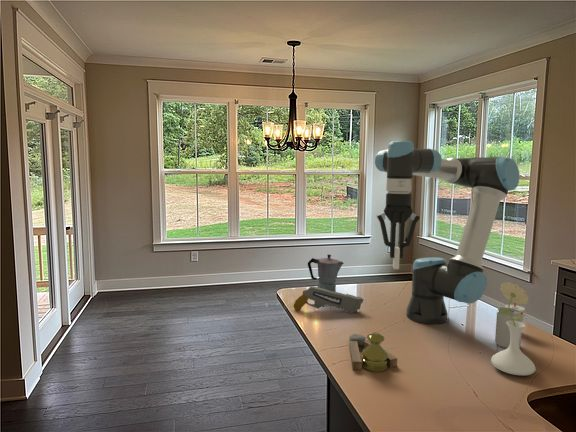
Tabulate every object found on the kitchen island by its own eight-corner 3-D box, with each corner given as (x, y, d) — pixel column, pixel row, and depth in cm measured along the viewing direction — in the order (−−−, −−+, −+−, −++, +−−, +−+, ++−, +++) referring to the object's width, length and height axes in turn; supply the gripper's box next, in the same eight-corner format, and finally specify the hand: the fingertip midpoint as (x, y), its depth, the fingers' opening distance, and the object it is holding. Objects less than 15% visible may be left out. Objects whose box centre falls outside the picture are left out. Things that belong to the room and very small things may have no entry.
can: (518, 342, 139) (520, 307, 138) (522, 352, 132) (525, 315, 131) (493, 339, 142) (495, 305, 140) (496, 348, 135) (498, 312, 133)
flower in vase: (545, 378, 116) (552, 290, 113) (507, 381, 114) (514, 292, 111) (512, 356, 129) (518, 277, 126) (478, 359, 127) (484, 279, 124)
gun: (349, 333, 167) (364, 300, 165) (291, 309, 167) (306, 276, 165) (348, 330, 170) (363, 297, 168) (292, 307, 170) (306, 274, 168)
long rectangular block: (369, 347, 135) (370, 339, 135) (397, 366, 122) (397, 358, 122) (363, 348, 134) (363, 340, 134) (390, 367, 121) (390, 359, 121)
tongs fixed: (364, 341, 139) (364, 334, 139) (371, 370, 120) (372, 362, 119) (348, 341, 139) (348, 333, 139) (352, 369, 120) (352, 361, 120)
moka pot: (344, 303, 177) (345, 257, 175) (307, 303, 177) (308, 256, 175) (341, 296, 187) (342, 252, 184) (306, 295, 187) (307, 251, 184)
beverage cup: (525, 335, 145) (528, 296, 143) (506, 334, 146) (509, 295, 144) (519, 329, 151) (522, 291, 149) (501, 327, 152) (503, 290, 150)
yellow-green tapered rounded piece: (370, 358, 127) (371, 326, 126) (392, 366, 122) (393, 333, 121) (356, 366, 122) (357, 333, 121) (378, 375, 117) (380, 341, 116)
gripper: (378, 193, 124) (376, 270, 127) (423, 193, 123) (419, 271, 126) (375, 191, 132) (373, 264, 135) (417, 192, 131) (414, 265, 134)
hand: (395, 268), depth 131 cm, fingers closed
